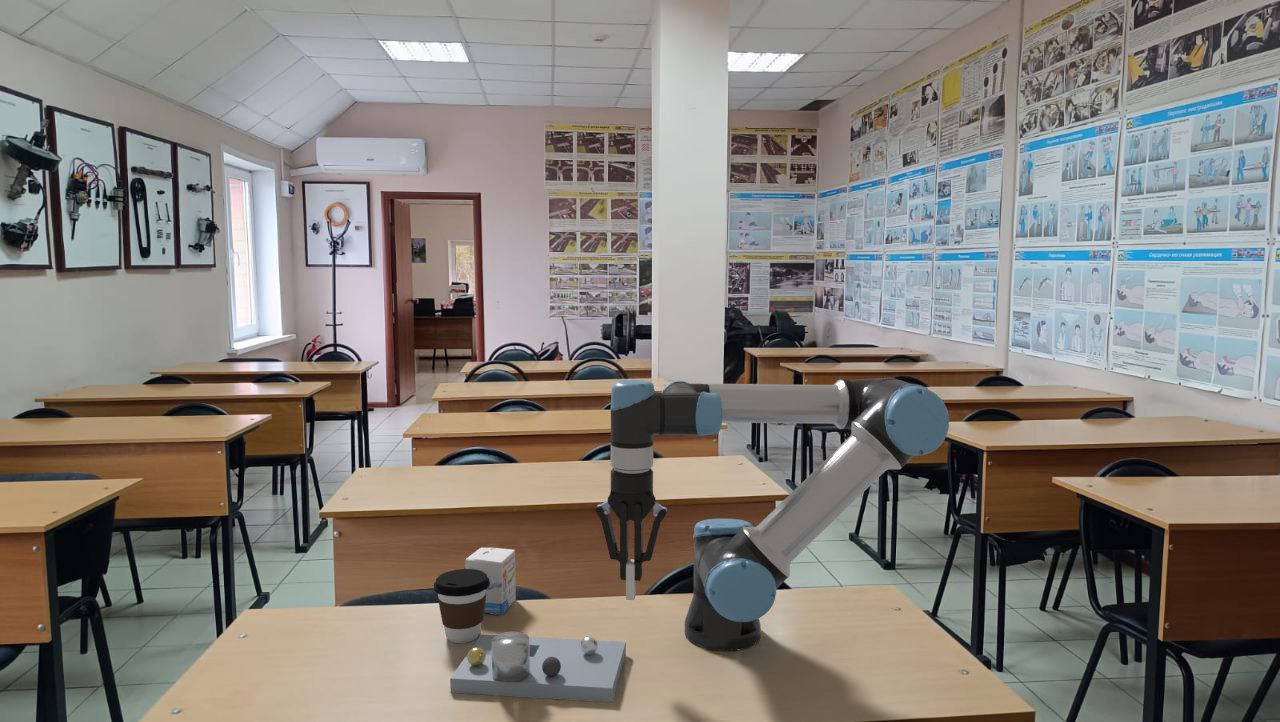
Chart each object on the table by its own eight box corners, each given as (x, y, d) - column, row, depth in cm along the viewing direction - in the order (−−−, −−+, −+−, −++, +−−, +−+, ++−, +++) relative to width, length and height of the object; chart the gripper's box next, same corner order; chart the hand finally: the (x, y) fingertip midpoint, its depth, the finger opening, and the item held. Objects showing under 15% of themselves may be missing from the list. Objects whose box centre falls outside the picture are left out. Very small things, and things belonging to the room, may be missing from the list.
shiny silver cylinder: (533, 665, 138) (533, 632, 137) (524, 683, 132) (523, 649, 131) (498, 663, 139) (497, 630, 138) (487, 681, 132) (486, 647, 132)
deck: (625, 654, 148) (625, 642, 148) (612, 702, 131) (612, 688, 131) (481, 646, 151) (481, 634, 151) (450, 692, 134) (450, 678, 134)
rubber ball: (562, 671, 136) (562, 653, 136) (558, 680, 133) (558, 662, 133) (544, 670, 137) (544, 652, 136) (540, 679, 134) (540, 661, 133)
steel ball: (599, 650, 144) (599, 633, 144) (596, 658, 141) (596, 641, 141) (582, 649, 145) (582, 632, 144) (578, 657, 141) (578, 640, 141)
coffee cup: (472, 652, 149) (471, 591, 148) (423, 644, 152) (421, 584, 151) (501, 628, 159) (500, 571, 158) (454, 621, 163) (452, 565, 161)
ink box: (502, 615, 165) (501, 562, 164) (464, 612, 167) (463, 559, 166) (517, 599, 174) (516, 548, 172) (481, 596, 175) (480, 545, 174)
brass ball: (488, 661, 140) (487, 644, 140) (482, 670, 137) (482, 652, 137) (470, 660, 140) (470, 643, 140) (464, 669, 137) (464, 651, 137)
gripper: (670, 464, 141) (668, 590, 144) (599, 462, 143) (598, 587, 145) (666, 474, 134) (665, 607, 136) (591, 471, 136) (591, 603, 138)
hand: (630, 596), depth 141 cm, fingers closed
